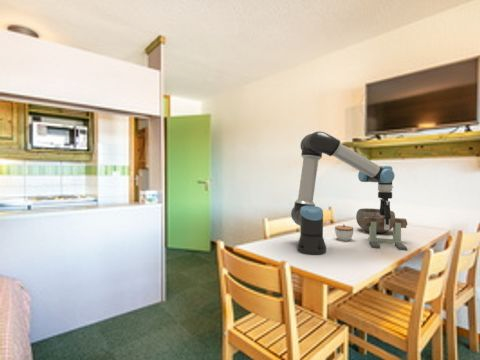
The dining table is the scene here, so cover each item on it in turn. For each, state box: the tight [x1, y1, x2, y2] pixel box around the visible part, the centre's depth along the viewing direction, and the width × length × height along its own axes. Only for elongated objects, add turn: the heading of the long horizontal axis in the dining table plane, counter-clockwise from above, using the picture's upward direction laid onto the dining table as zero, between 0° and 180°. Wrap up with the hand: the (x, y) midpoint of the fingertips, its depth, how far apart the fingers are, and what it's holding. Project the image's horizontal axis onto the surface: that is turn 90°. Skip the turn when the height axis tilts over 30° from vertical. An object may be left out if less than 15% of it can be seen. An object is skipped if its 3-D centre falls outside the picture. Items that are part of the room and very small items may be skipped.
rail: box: [363, 217, 408, 229], centre depth 160 cm, size 23×4×5 cm, turn 72°
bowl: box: [355, 207, 396, 234], centre depth 185 cm, size 24×24×15 cm
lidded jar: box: [334, 224, 354, 242], centre depth 165 cm, size 11×11×9 cm
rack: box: [367, 221, 403, 244], centre depth 160 cm, size 17×6×12 cm, turn 72°
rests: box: [368, 240, 408, 251], centre depth 149 cm, size 17×9×2 cm, turn 72°
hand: (384, 227), depth 160 cm, fingers open, 11 cm apart
